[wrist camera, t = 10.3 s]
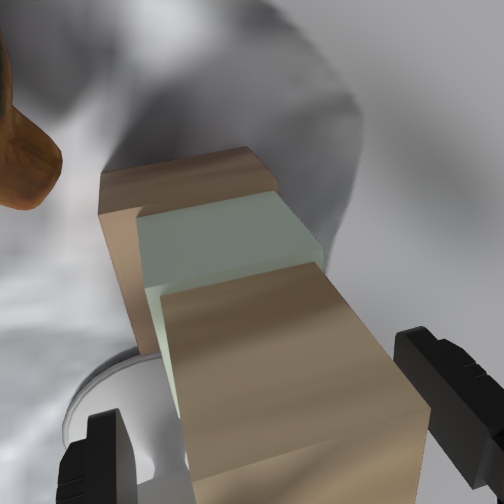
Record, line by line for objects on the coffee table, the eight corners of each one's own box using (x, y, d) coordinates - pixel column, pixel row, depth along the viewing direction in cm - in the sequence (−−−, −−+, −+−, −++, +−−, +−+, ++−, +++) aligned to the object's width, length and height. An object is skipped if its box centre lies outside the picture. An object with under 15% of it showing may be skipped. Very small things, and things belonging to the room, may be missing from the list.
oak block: (159, 296, 13) (191, 482, 8) (314, 261, 14) (431, 409, 9) (185, 409, 15) (222, 608, 10) (316, 373, 16) (408, 539, 11)
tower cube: (135, 217, 17) (144, 288, 13) (273, 190, 18) (324, 247, 14) (163, 330, 20) (178, 418, 16) (282, 300, 21) (326, 376, 17)
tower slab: (100, 172, 21) (97, 214, 17) (246, 145, 22) (277, 179, 18) (135, 294, 24) (140, 355, 20) (259, 265, 26) (288, 317, 21)
